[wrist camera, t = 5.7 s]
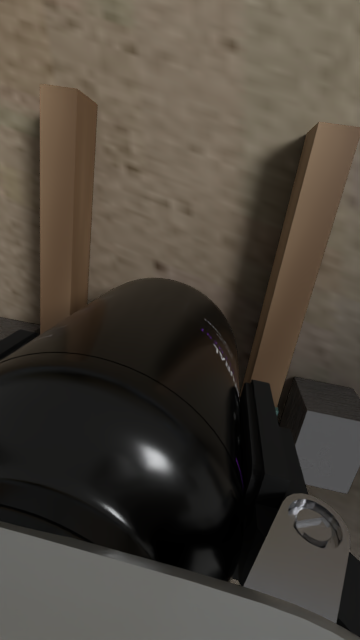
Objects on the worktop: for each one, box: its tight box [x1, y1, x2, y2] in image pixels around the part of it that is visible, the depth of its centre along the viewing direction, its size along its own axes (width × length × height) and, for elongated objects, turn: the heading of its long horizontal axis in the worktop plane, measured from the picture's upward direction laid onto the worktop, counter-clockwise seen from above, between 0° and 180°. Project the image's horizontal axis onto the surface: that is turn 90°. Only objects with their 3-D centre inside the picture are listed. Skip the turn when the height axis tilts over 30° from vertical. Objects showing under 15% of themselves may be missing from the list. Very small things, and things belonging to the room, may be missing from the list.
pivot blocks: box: [0, 317, 360, 494], centre depth 17 cm, size 20×4×3 cm, turn 81°
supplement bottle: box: [0, 278, 244, 583], centre depth 9 cm, size 7×7×12 cm
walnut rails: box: [40, 84, 360, 415], centre depth 17 cm, size 12×28×2 cm, turn 171°
